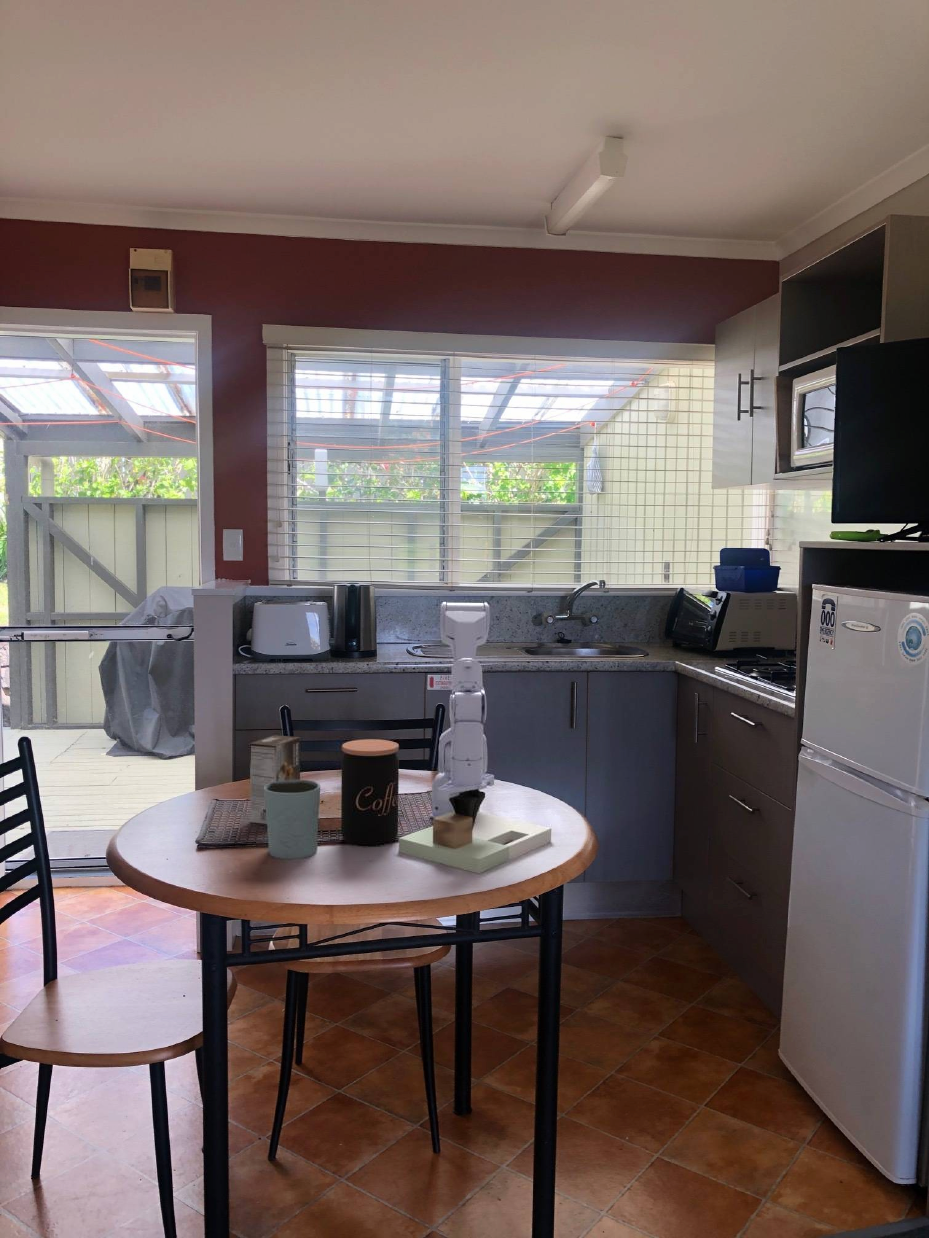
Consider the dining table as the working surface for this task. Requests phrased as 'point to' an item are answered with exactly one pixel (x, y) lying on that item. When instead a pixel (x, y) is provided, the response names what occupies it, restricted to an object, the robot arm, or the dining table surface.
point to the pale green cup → (292, 818)
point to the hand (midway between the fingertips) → (465, 831)
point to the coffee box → (271, 768)
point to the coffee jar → (369, 792)
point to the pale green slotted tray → (480, 843)
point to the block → (452, 830)
